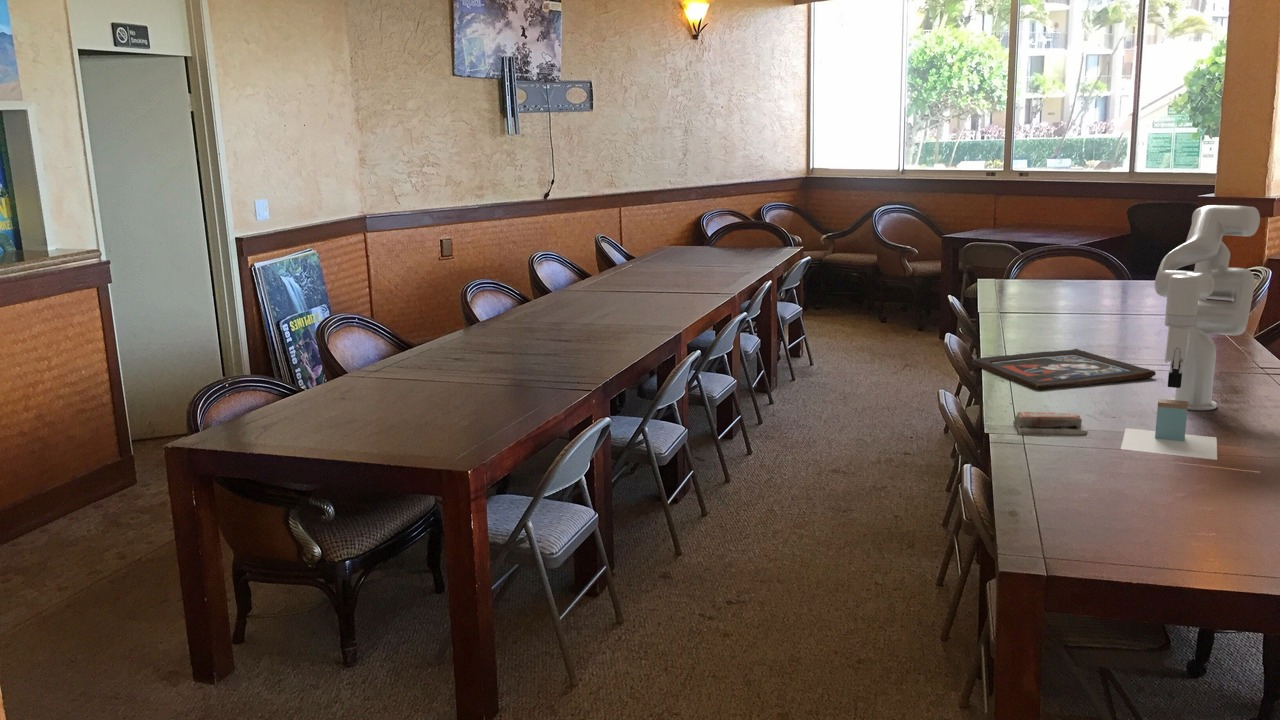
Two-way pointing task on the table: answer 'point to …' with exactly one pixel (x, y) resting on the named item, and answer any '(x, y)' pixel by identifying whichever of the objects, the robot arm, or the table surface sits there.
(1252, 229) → the robot arm
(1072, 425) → the packaged product
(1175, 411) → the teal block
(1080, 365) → the religious icon
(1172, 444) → the board
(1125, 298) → the table surface
